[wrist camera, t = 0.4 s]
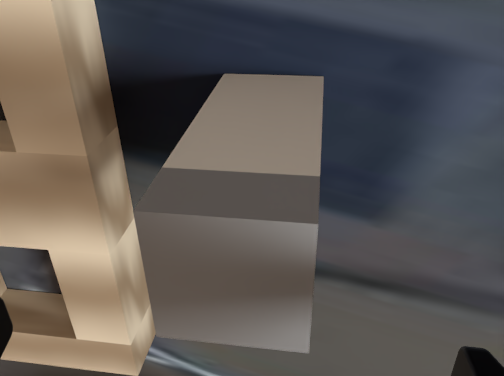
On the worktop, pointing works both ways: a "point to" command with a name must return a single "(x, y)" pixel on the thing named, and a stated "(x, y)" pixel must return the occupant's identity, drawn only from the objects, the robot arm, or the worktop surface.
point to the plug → (238, 217)
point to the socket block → (68, 193)
